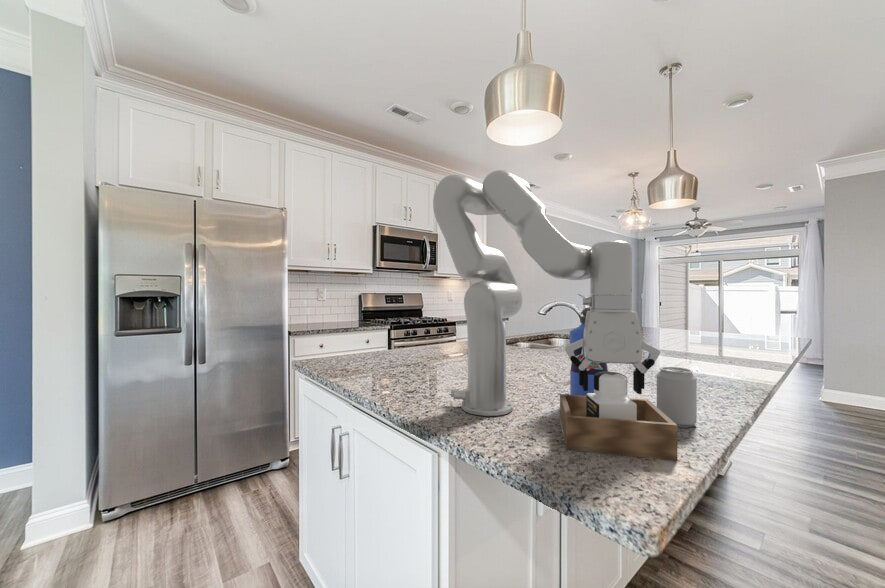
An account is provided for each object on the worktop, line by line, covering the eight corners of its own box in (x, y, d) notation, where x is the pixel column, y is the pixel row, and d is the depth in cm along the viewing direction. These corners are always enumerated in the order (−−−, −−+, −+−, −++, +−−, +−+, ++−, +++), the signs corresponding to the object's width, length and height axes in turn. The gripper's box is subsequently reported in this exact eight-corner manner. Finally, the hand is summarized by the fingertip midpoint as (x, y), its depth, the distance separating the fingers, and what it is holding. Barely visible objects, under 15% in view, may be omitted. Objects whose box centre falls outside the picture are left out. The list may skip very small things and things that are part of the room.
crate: (566, 449, 67) (566, 416, 67) (559, 420, 83) (559, 394, 83) (677, 460, 63) (677, 425, 63) (648, 427, 78) (648, 399, 78)
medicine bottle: (585, 426, 76) (585, 369, 77) (621, 427, 76) (621, 369, 76) (598, 440, 69) (598, 376, 69) (637, 441, 69) (637, 377, 69)
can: (703, 429, 77) (703, 372, 77) (664, 427, 79) (664, 371, 79) (687, 418, 85) (687, 366, 85) (651, 416, 86) (651, 364, 86)
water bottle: (570, 399, 99) (570, 307, 99) (608, 403, 96) (608, 307, 96) (568, 409, 91) (568, 308, 91) (610, 414, 87) (610, 308, 87)
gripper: (566, 304, 71) (566, 393, 71) (666, 305, 67) (666, 399, 67) (563, 303, 78) (563, 383, 78) (652, 304, 74) (652, 388, 74)
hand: (610, 390), depth 73 cm, fingers open, 9 cm apart
